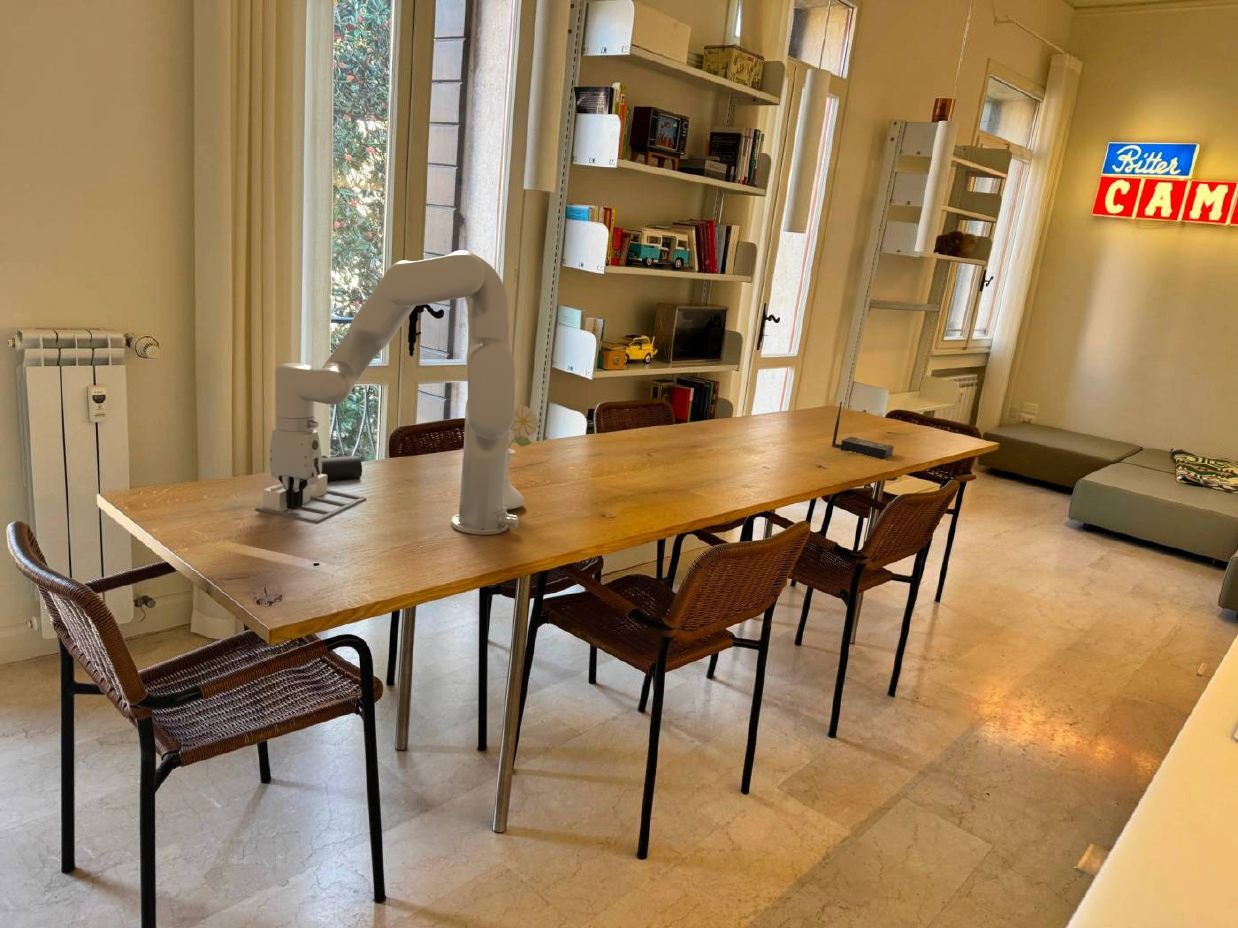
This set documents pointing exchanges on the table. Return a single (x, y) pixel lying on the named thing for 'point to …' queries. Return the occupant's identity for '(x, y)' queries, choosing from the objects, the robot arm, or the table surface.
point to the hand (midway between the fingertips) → (294, 507)
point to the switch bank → (327, 513)
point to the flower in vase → (522, 427)
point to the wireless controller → (862, 445)
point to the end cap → (341, 467)
